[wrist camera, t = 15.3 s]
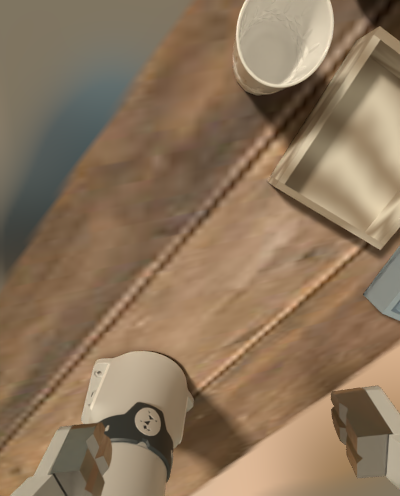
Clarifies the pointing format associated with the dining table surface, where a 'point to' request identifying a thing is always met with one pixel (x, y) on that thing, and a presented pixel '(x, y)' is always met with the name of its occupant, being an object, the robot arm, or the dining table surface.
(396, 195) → the beige shallow tray
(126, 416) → the robot arm
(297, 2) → the white cup
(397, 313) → the box
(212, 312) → the dining table surface
